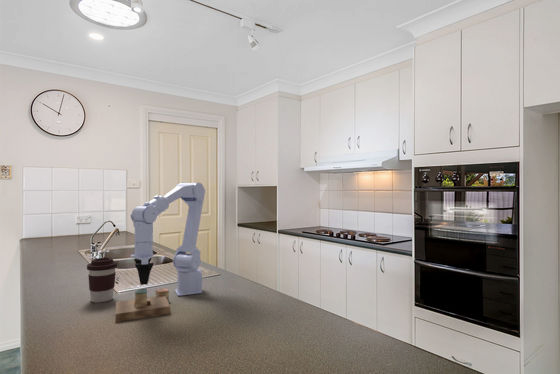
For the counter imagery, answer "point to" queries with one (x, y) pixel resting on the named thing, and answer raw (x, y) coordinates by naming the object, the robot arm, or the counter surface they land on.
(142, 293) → the square peg
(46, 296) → the counter surface
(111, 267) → the coffee cup
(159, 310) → the hole board
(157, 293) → the tan cubic piece
